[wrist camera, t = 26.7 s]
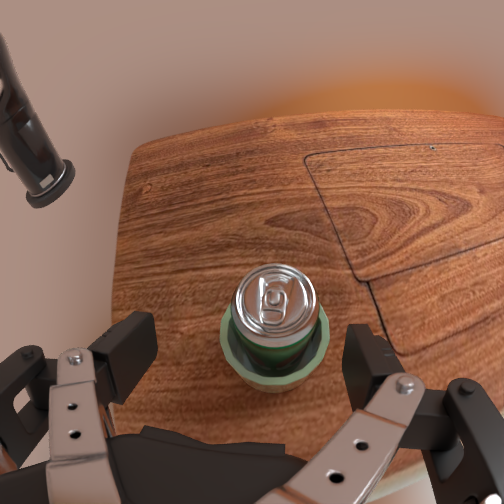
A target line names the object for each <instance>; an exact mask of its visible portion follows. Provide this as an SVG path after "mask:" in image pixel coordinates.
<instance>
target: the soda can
mask: <svg viewBox="0 0 504 504" xmlns="http://www.w3.org/2000/svg"><path fill="white" fill-rule="evenodd" d="M230 309H231V317H232V321H233V323H234V326H235V328H236V331H237V333H238V335H239V338H240V340H241V343H242V345H243V348H244V350H245V352H246V355H247V357H248V359H249V362H250V363H251V365H252V366H253V367H254V369H255V370H257V371H258V372H259V373H261V374H263V375H266V376H270V377H280V376H284V375H287V374H289V373H291V372H292V371H294V370H295V369H296V368H297V367H298V365H299V364H300V362H301V361H302V358H303V356H304V353H305V351H306V349H307V346H308V344H309V341H310V339H311V336H312V334H313V331H314V329H315V326H316V324H317V321H318V318H319V312H320V303H319V297H318V295H317V292H316V290H315V288H314V286H313V285H312V284H311V282H310V281H309V279H308V278H307V277H306V276H305V275H304V274H303V273H302V272H301V271H299V270H298V269H296V268H294V267H292V266H289V265H286V264H279V263H272V264H266V265H262V266H259V267H257V268H255V269H253V270H251V271H250V272H249V273H248V274H246V276H245V277H244V278H243V279H242V280H241V282H240V283H239V285H238V286H237V288H236V289H235V291H234V293H233V296H232V299H231V306H230Z"/></svg>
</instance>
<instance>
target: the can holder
mask: <svg viewBox="0 0 504 504" xmlns="http://www.w3.org/2000/svg"><path fill="white" fill-rule="evenodd" d="M230 306H231V303H230V304H229V306H228V308H227V310H226V312H225V314H224V316H223V318H222V319H221V327H220V344H221V347H222V349H223V352H224V355H225V358H226V360H227V362H228V363H229V364H230V366H231V367H232V368H233V369H234V371H235V372H236V373H237V374H238V375H239V376H240V377H241V378H242V380H243V381H244V382H246V384H247V385H249V386H251V387H253V388H255V389H257V390H259V391H262V392H267V393H281V392H286V391H289V390H292V389H294V388H296V387H298V386H300V385H301V384H302V383H303V382H304V381H306V379H307V378H308V377H309V376H310V375H311V374H312V373H313V372H314V371H315V369H316V368H317V367H318V365H319V364H320V363H321V361H322V360H323V357H324V355H325V352H326V349H327V347H328V344H329V340H330V335H329V321H328V318H327V316H326V314H325V312H324V310H323V308H322V306H321V304H320V312H319V318H318V321H317V324H316V326H315V329H314V331H313V334H312V336H311V339H310V341H309V344H308V346H307V349H306V351H305V353H304V356H303V358H302V361H301V362H300V364H299V365H298V367H297V368H296V369H295V370H294V371H292V372H291V373H289V374H287V375H284V376H280V377H270V376H266V375H263V374H261V373H259V372H258V371H257V370H255V369H254V367H253V366H252V365H251V363H250V362H249V359H248V357H247V355H246V352H245V350H244V348H243V345H242V343H241V340H240V338H239V335H238V333H237V331H236V328H235V326H234V323H233V321H232V317H231V309H230Z"/></svg>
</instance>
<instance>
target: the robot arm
mask: <svg viewBox="0 0 504 504" xmlns="http://www.w3.org/2000/svg"><path fill="white" fill-rule="evenodd" d="M0 81H1V84H2V86H1V89H0V151H1V152H2V154H3V156H4V157H5V159H6V160H7V162H8V163H9V164H10V166H11V168H12V169H11V168H10V167H9V166H8V164H7V162H6V161H5V159H4V158H3V156H2V155H1V154H0V158H1V159H2V161H3V163H4V164H5V166H6V168H7V170H9V171H11V172H15V173H16V175H17V176H18V177H19V179H20V180H21V182H22V183H23V185H24V186H25V187H26V189H27V190H28V191H29V194H30V195H31V196H32V197H33V198H39V197H42V196H44V195H46V194H48V193H49V192H50V191H52V190H53V189H54V188H55V187H56V186H57V185H58V184H59V183H60V182H61V180H62V179H63V178H64V176H65V174H66V171H67V167H66V165H65V163H64V162H63V161H62V159H61V157H60V156H59V154H58V152H57V150H56V148H55V147H54V145H53V143H52V142H51V140H50V138H49V136H48V134H47V132H46V131H45V129H44V127H43V125H42V123H41V121H40V119H39V117H38V116H37V113H36V112H35V110H34V108H33V106H32V104H31V102H30V100H29V98H28V96H27V94H26V92H25V90H24V88H23V86H22V83H21V81H20V79H19V77H18V74H17V72H16V70H15V67H14V64H13V61H12V58H11V55H10V51H9V48H8V46H7V43H6V40H5V38H4V36H3V35H2V34H1V33H0ZM157 351H158V345H157V338H156V331H155V324H154V317H153V315H152V314H151V313H147V312H139V311H134V312H133V313H132V314H130V315H129V316H128V317H127V318H126V319H125V320H123V321H121V322H119V323H116V324H114V325H113V326H112V327H111V328H109V329H108V330H107V332H105V333H104V334H103V335H102V336H100V337H99V338H98V339H97V340H96V341H95V342H93V343H92V344H91V345H90V346H89V347H88V348H87V349H85V348H72V349H69V350H66V351H64V352H63V353H61V354H60V356H59V357H58V359H46V358H45V356H44V353H43V350H42V348H41V347H39V346H35V345H29V346H24V347H22V348H20V349H18V350H16V351H15V352H14V353H13V354H11V355H10V356H9V357H8V358H6V359H5V360H4V361H3V362H1V363H0V504H364V503H365V502H366V501H367V499H368V498H369V496H370V495H371V493H372V492H373V490H374V489H375V487H376V486H377V484H378V482H379V481H380V479H381V478H382V476H383V475H384V473H385V472H386V470H387V468H388V467H389V465H390V463H391V462H392V460H393V458H394V457H395V455H396V453H397V451H398V450H399V448H409V449H421V451H422V454H423V458H424V461H425V464H426V467H427V471H428V474H429V478H430V481H431V485H432V488H433V492H434V496H435V499H436V503H437V504H504V419H503V417H502V416H501V414H500V413H499V411H498V410H497V408H496V407H495V405H494V404H493V402H492V401H491V399H490V398H489V396H488V395H487V393H486V392H485V390H484V389H483V388H482V386H481V385H480V384H479V383H477V382H476V381H474V380H471V379H467V378H457V379H454V380H452V381H451V382H450V383H449V385H448V388H447V390H446V391H443V390H431V389H425V384H424V382H423V381H422V380H421V379H420V378H419V377H417V376H415V375H413V374H409V373H406V372H405V370H404V369H403V367H402V365H401V363H400V362H399V360H398V358H397V356H395V353H394V351H393V350H392V348H391V346H390V345H389V343H388V341H386V340H385V339H384V338H382V337H381V336H379V335H375V336H374V335H373V333H372V331H371V329H370V328H369V326H368V324H349V325H348V328H347V333H346V340H345V346H344V352H343V358H342V372H343V376H344V380H345V383H346V387H347V391H348V395H349V399H350V403H351V407H352V411H353V414H352V415H351V416H350V417H349V418H348V420H347V421H346V422H345V423H344V424H343V425H342V427H341V428H340V429H339V430H338V431H337V432H336V433H335V434H334V436H333V437H332V438H331V439H330V440H329V441H328V442H327V443H326V444H325V445H324V446H323V447H322V449H321V450H320V451H319V452H318V453H317V454H316V455H315V456H314V457H313V458H312V459H311V460H310V461H309V462H308V461H306V460H303V459H301V458H298V457H295V456H292V455H288V454H285V444H272V443H255V442H243V443H231V444H214V445H211V444H206V443H203V442H200V441H198V440H195V439H192V438H190V437H187V436H185V435H182V434H180V433H177V432H173V431H168V430H164V429H159V428H155V427H150V426H146V425H144V427H143V429H142V431H141V432H140V434H123V435H118V436H117V435H116V432H115V428H114V424H113V420H112V417H111V413H110V409H109V407H108V404H109V403H110V402H113V403H116V404H120V405H123V403H124V402H125V400H126V399H127V398H128V396H129V395H130V393H131V392H132V391H133V389H134V388H135V386H136V385H137V384H138V382H139V381H140V379H141V378H142V377H143V375H144V374H145V372H146V371H147V370H148V368H149V367H150V365H151V364H152V363H153V361H154V360H155V358H156V356H157ZM24 387H25V388H26V391H27V393H28V395H29V397H30V399H31V400H30V401H29V402H28V403H27V404H26V405H25V406H24V407H23V408H22V409H21V410H20V411H19V412H18V414H17V413H16V411H15V409H14V406H13V401H14V398H15V396H16V395H17V394H18V393H19V392H20V391H21V390H22V389H23V388H24ZM48 430H49V448H50V460H48V461H44V462H41V463H38V464H35V465H32V466H28V467H25V468H21V469H19V468H20V467H21V466H22V464H23V463H24V462H25V460H26V459H27V457H28V456H29V455H30V453H31V452H32V451H33V449H34V448H35V447H36V446H37V444H38V443H39V442H40V440H41V439H42V438H43V436H44V435H45V434H46V433H47V431H48ZM460 439H461V441H462V443H463V446H464V448H463V446H462V444H461V441H460Z"/></svg>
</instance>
